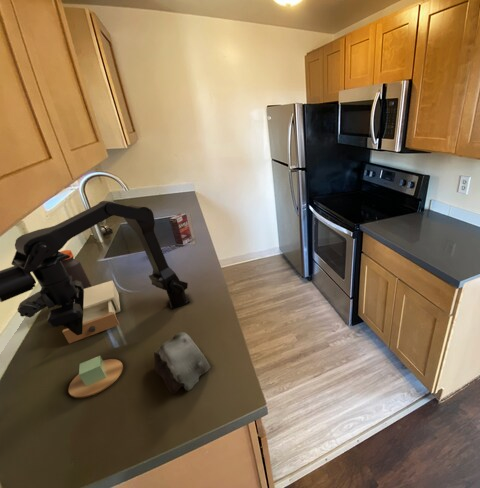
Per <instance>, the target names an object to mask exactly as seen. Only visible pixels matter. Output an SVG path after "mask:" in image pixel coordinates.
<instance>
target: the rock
mask: <svg viewBox="0 0 480 488" xmlns="http://www.w3.org/2000/svg"><path fill="white" fill-rule="evenodd" d="M153 359H154V369H155V372H156V373H157V375H158V376H159V377H161V378H162V379H163V382H164V385H165V386H166V388H167V390H168V391H169V392H170V394H173V395H174V394H176V393H177V392H178V391H179V389H181V388H184V390H185V391H191V390H192V389H193V388H194V386H195V385H196V384H197V383H198V382H200V377H201V376H202V375H204V374H205V373H207V372H208V371H209V370H211V369H212V366H211V365H210V363H209V361H208V360H207V358H206V357H205V355H204V353H203V352H202V350H200V349H199V346H198V345H197V344H196V343H195V342H194V340H193V339H192V338H191V336H190V335H189V334H188V333H187V332H183V331H181V332H177V333H176V334H174V336H173V337H172V338H170V339H168V340H166V341H164V342H162V344H161V345H160V346H159V349H156V350H155V351H154V354H153Z"/></svg>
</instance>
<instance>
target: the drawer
mask: <svg viewBox="0 0 480 488" xmlns="http://www.w3.org/2000/svg"><path fill="white" fill-rule="evenodd" d="M116 314H117V313H115V305H114V303H113V301H112V300H109V301H106V302H103V303H100V304H97V305H94V306H91V307H88V308H85V309H83V330H82V334H81V335H76V334H75V333H73V332H72V331H70V330H69V329H68V328H63V329H62V334H63V336H64V338H65V339H66V341H67V343H68V344H72V343H75V342H78V341H80V340H83V339H86V338H88V337H90V336H93V335H96V334H98V333H99V334H100V333H101V332H104V331H106V330H110V329H112V328H114V327H117V326H120V322H119V320H118V317H117V316H116Z"/></svg>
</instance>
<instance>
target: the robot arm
mask: <svg viewBox="0 0 480 488" xmlns="http://www.w3.org/2000/svg"><path fill="white" fill-rule="evenodd" d="M114 216H115V217H119V218H123V219H124V220H125V222H126V223H127V224H128V226H129V227H130V228H131V229H132V230H133V231H134V232H135V233H136V234H137V236H138V238H139V241H140V243H141V245H142V247H143V250H144V252H145V255H146V256H147V259H148V261H149V263H150V266H151V268H152V274H149V275H148V278H149V280H150V281H151V285H152V286H155V287H156V288H158V289H161V290H163V291H165V292H166V294H167V297H168V303H169V306H170V309H171V310H174V309H177V308H180V307H182V306H184V305H187V304H190V303H191V301H190V299H189V297H188V295H187V293H186V291H185V290H187V289H188V286H189V284H188V282H186V281H183V280H180V278H179V277H178V275H177V274H176V272H175V271H174V270H173V269H172V268H171V267H170V266H169V265H168V262H167V260H166V257H165V254H164V252H163V249H162V247H161V244H160V242H159V240H158V236H157V235H156V232H155V226H156V221H155V216H154V212H153V210H152V209H151V208H149V207H147V206H142V205H136V204H130V205H124V204H120V203H116V202H115V201H111V200H110V201H109V200H102V201H100V202H98V203H97V204H94V206H91V207H90V208H89V207H88V208H87V209H85V210H83V211H81V212H79V213H77V214H75V215H73V216H71V217H69V218H67V219H65V220H63V221H61V222H59V223H57V224H55V225H53V226H48V227H44V228H40V229H36V230H33V231H29V232H27V233H24V234H22V235H20V236H19V237H17V238H16V239H15V243H14V249H15V250H16V251H15V252H14V256H13V258H12V261H11V265H12V266H10V267H7V268H5V269H2V270H0V303H3V302H6V301H8V300H10V299H13V298H15V297H17V296H20V295H22V294H24V293H27V292H30V291H32V290H34V288H35V287H36V284H37V282H38V284H39V286H40V290H39V291H37V292H35V293H33V294H32V295H30V296H29V297H27V298H25V299H23V300H22V301H21V302H19V305H18V307H17V309H16V310H17V313H19V315H20V317H22V318H23V317H25V318H28V319H29V318H32V317H34V316H35V315H36V314H37V313H39V312H41V311H42V310H44V309H45V308H46V307H47V309H51V310H50V311H49V313H48V314H47V319H46V322H47V324H48V326H49V327H50V328H57V327H65V329H67V328H68V329H69V330H70V331H72V332H73V333H75V334H76V335H81V334H82V330H83V305H84V287H83V285H82V283H81V282H80V281H76V280H75V281H72V277H71V275H70V276H69V275H68V273H67V271H66V269H65V268H64V266H63V264H62V262H61V261H62V260H65V259H68V258H70V255H67V254H64V253H61V251H60V250H62V249H63V248H64V247H65V245H66V244H67V243H68V242H70V240H71V239H73V238H74V237H77V236H78V235H80V234H82V233H83V232H85V231H87V230H89V229H91V228H92V227H95V226H96V225H98V224H100V223H102V222H103V221H106V220H107V219H109V218H112V217H114ZM32 274H33V275H32ZM78 288H79V290H78ZM56 306H57V308H55V307H56ZM52 308H53V309H52Z"/></svg>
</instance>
